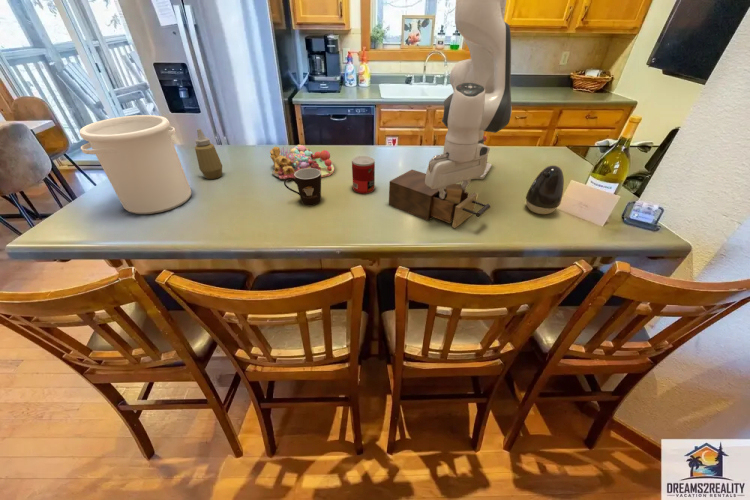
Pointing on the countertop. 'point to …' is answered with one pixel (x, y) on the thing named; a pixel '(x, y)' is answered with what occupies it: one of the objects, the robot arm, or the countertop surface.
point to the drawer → (456, 208)
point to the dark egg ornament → (546, 191)
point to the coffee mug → (307, 185)
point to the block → (453, 193)
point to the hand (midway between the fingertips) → (452, 195)
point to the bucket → (139, 161)
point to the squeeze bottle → (207, 157)
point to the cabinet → (412, 194)
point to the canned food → (363, 174)
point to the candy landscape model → (300, 161)
